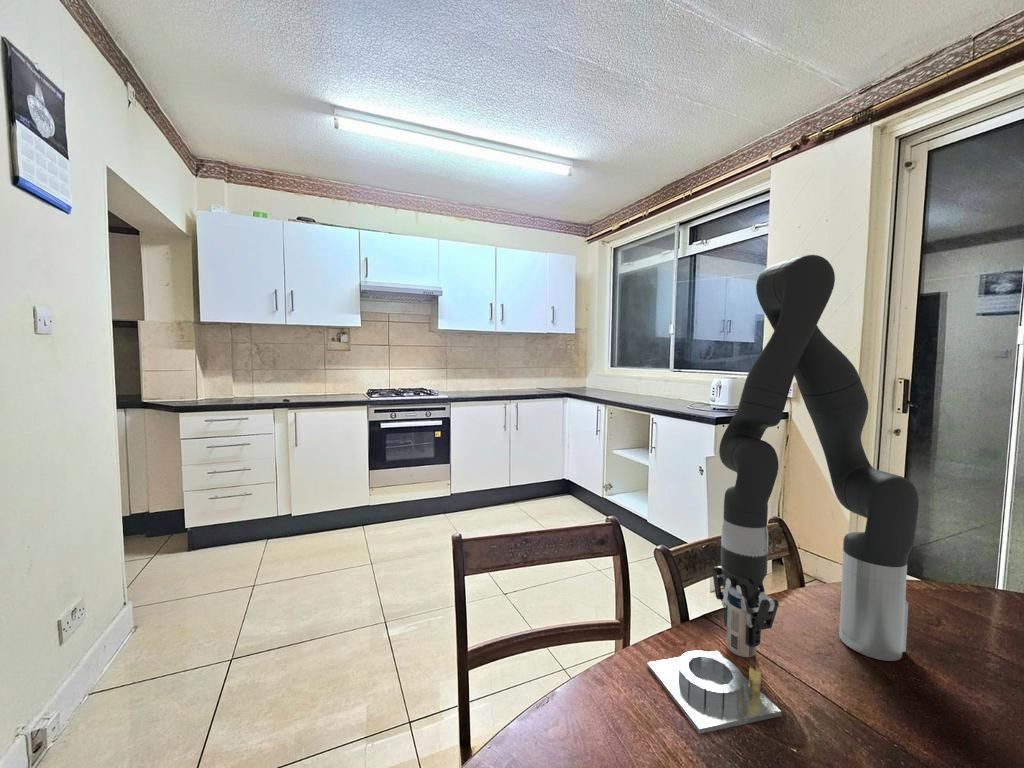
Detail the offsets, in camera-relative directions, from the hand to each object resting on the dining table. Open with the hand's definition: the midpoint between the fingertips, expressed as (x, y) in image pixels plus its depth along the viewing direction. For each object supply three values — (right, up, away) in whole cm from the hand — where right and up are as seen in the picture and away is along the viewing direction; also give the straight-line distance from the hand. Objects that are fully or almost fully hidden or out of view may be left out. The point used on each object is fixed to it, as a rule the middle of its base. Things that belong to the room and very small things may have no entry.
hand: (740, 635), depth 80 cm
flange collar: (-10, -3, -9) cm, 14 cm away
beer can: (0, -3, 0) cm, 3 cm away
